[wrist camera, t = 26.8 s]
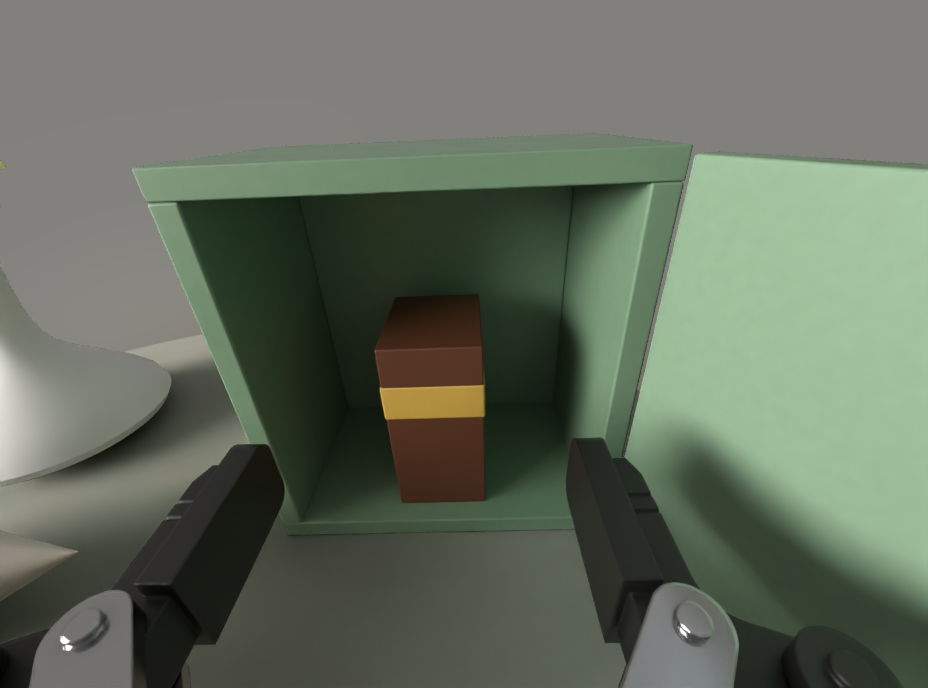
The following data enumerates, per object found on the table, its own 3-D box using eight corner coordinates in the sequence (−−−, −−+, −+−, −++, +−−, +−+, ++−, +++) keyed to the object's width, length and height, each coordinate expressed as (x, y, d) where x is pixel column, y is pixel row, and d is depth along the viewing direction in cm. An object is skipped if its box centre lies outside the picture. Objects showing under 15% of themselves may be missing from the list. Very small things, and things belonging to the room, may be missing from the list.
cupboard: (606, 529, 18) (694, 143, 10) (287, 535, 18) (129, 167, 10) (563, 404, 26) (594, 132, 18) (341, 411, 26) (274, 146, 18)
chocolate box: (486, 502, 18) (484, 347, 14) (399, 505, 18) (371, 351, 14) (482, 428, 23) (480, 292, 18) (412, 430, 23) (394, 295, 19)
